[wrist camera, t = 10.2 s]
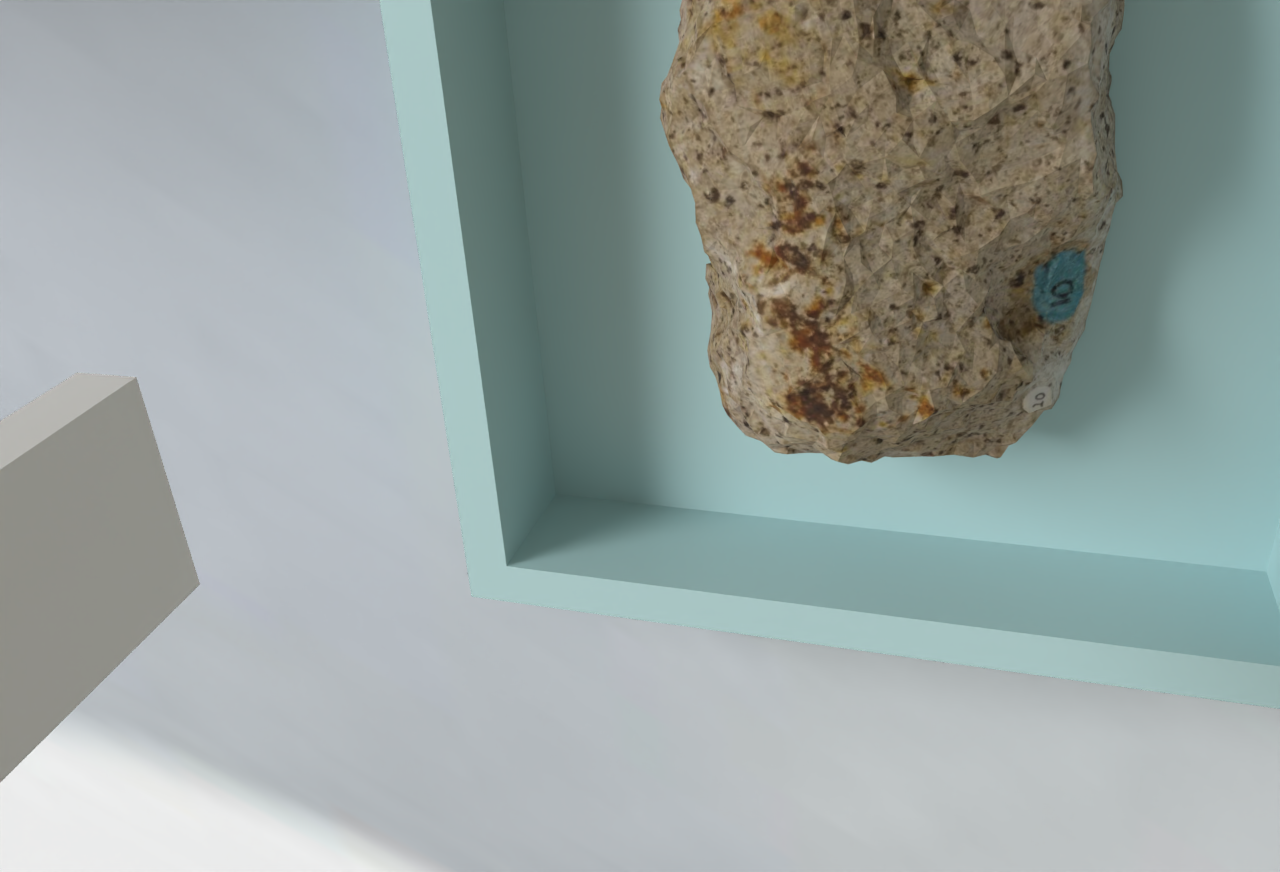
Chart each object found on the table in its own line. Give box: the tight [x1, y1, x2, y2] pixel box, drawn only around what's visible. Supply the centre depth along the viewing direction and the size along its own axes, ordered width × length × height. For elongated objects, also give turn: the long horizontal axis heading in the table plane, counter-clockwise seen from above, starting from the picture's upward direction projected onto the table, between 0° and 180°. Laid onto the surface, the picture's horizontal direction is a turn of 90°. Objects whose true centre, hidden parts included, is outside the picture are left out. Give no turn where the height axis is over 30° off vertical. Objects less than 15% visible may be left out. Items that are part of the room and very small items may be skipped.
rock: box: [659, 0, 1125, 464], centre depth 20 cm, size 8×11×4 cm
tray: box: [379, 0, 1280, 709], centre depth 21 cm, size 18×18×4 cm
